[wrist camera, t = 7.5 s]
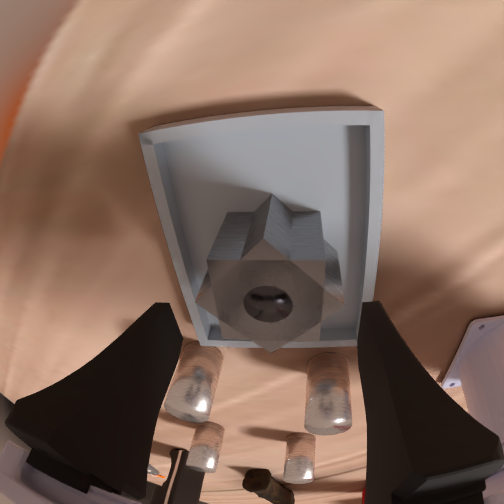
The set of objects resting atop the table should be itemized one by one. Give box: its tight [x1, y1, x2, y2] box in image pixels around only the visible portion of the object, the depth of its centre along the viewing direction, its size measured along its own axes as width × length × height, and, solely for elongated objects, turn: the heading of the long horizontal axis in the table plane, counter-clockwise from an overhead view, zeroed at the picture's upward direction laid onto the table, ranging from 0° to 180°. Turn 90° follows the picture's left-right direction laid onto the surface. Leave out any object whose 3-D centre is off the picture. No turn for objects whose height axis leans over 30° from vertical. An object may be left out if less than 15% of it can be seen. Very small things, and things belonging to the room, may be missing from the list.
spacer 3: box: [283, 433, 316, 484], centre depth 27 cm, size 3×3×5 cm
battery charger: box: [150, 450, 205, 504], centre depth 33 cm, size 7×4×11 cm, turn 18°
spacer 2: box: [186, 421, 224, 473], centre depth 28 cm, size 3×3×5 cm
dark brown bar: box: [242, 469, 295, 504], centre depth 40 cm, size 19×4×5 cm, turn 19°
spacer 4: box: [305, 352, 352, 435], centre depth 19 cm, size 3×3×5 cm
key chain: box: [147, 464, 165, 478], centre depth 47 cm, size 13×4×2 cm, turn 12°
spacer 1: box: [164, 342, 223, 423], centre depth 21 cm, size 3×3×5 cm
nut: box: [195, 194, 345, 353], centre depth 14 cm, size 6×6×4 cm
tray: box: [138, 106, 385, 348], centre depth 16 cm, size 10×13×2 cm
